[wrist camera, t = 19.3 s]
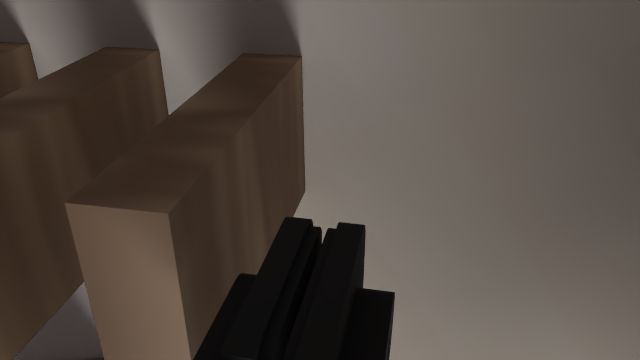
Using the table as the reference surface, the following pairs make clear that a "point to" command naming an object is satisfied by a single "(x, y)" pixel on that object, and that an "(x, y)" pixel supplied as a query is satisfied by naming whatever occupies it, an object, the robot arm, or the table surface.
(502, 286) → the table surface
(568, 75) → the table surface
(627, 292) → the table surface
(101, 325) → the wooden block
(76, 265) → the wooden block
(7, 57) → the brown flat rectangular block
